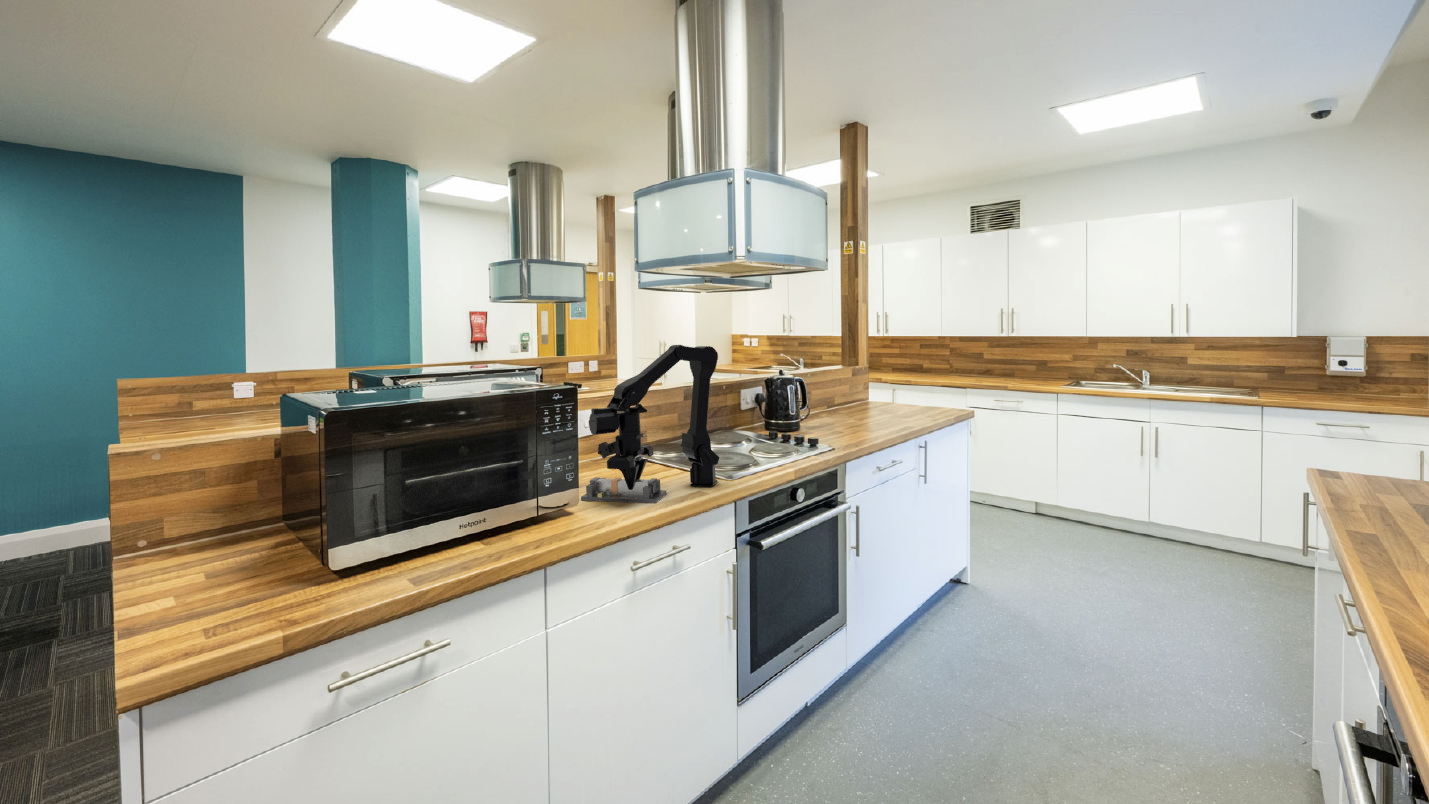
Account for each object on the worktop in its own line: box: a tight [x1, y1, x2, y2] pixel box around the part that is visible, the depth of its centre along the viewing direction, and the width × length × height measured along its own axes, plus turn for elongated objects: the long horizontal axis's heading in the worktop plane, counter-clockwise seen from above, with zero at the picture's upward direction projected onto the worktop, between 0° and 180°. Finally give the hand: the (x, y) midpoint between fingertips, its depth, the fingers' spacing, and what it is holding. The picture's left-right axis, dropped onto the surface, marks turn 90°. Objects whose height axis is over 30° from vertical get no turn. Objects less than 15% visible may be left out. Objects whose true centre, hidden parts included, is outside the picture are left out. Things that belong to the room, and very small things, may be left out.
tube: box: [589, 476, 658, 494], centre depth 161 cm, size 18×3×3 cm, turn 76°
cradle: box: [580, 477, 667, 504], centre depth 161 cm, size 21×9×4 cm, turn 76°
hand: (632, 488), depth 160 cm, fingers closed on tube, 3 cm apart
